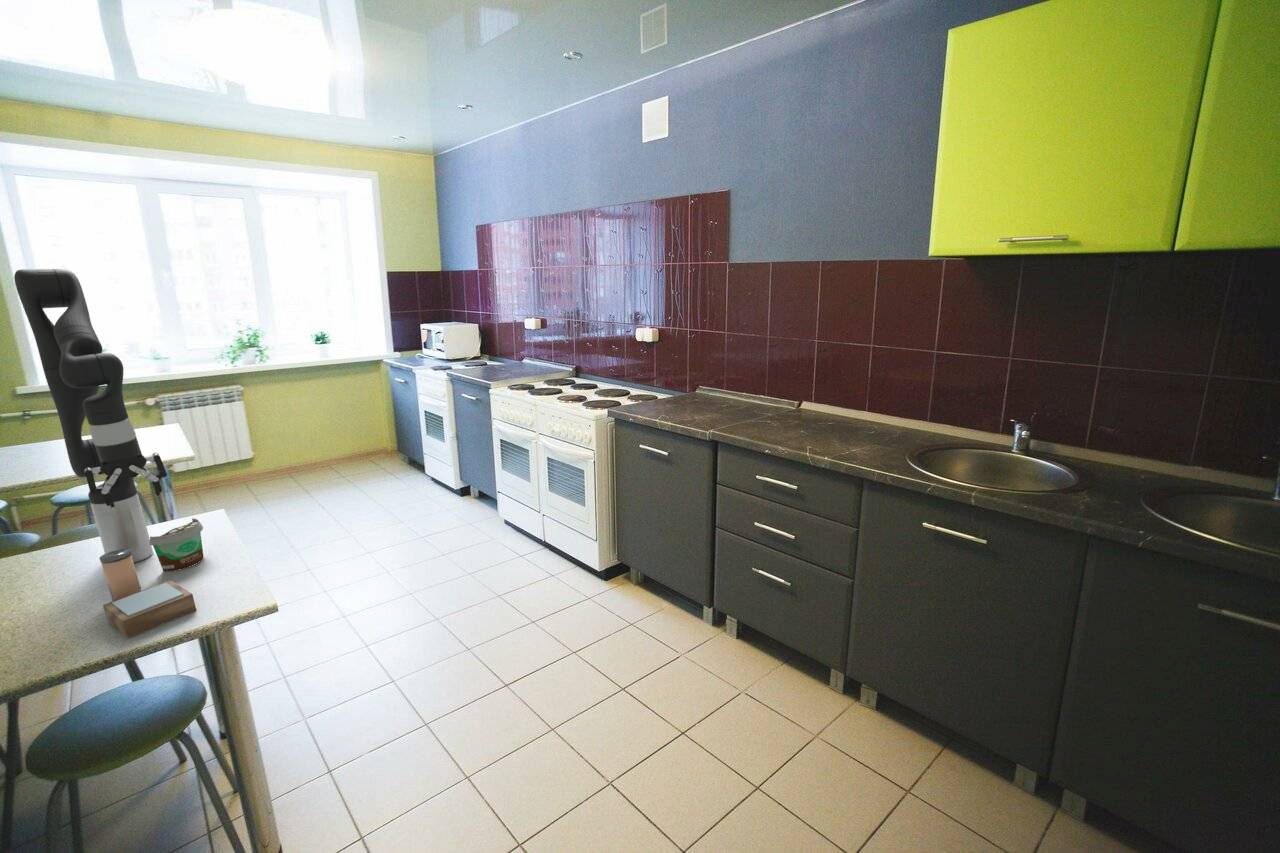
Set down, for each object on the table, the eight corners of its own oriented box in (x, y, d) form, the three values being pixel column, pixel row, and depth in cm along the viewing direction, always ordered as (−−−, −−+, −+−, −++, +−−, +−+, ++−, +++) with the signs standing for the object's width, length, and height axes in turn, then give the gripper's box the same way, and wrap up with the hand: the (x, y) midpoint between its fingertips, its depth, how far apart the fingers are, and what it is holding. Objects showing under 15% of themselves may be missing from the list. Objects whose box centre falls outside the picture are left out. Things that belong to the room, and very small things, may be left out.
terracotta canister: (108, 599, 133) (95, 556, 131) (137, 589, 138) (125, 546, 135) (116, 606, 131) (104, 561, 128) (146, 595, 135) (134, 552, 132)
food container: (177, 576, 144) (167, 539, 141) (157, 574, 145) (147, 537, 142) (221, 553, 155) (213, 518, 153) (202, 551, 157) (194, 517, 154)
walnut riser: (107, 621, 125) (102, 603, 123) (174, 595, 134) (169, 579, 133) (128, 638, 118) (122, 619, 117) (196, 610, 128) (192, 592, 127)
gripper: (151, 427, 143) (169, 486, 149) (72, 442, 134) (95, 504, 139) (155, 435, 138) (174, 495, 144) (75, 451, 129) (98, 515, 134)
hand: (135, 500), depth 141 cm, fingers open, 8 cm apart
